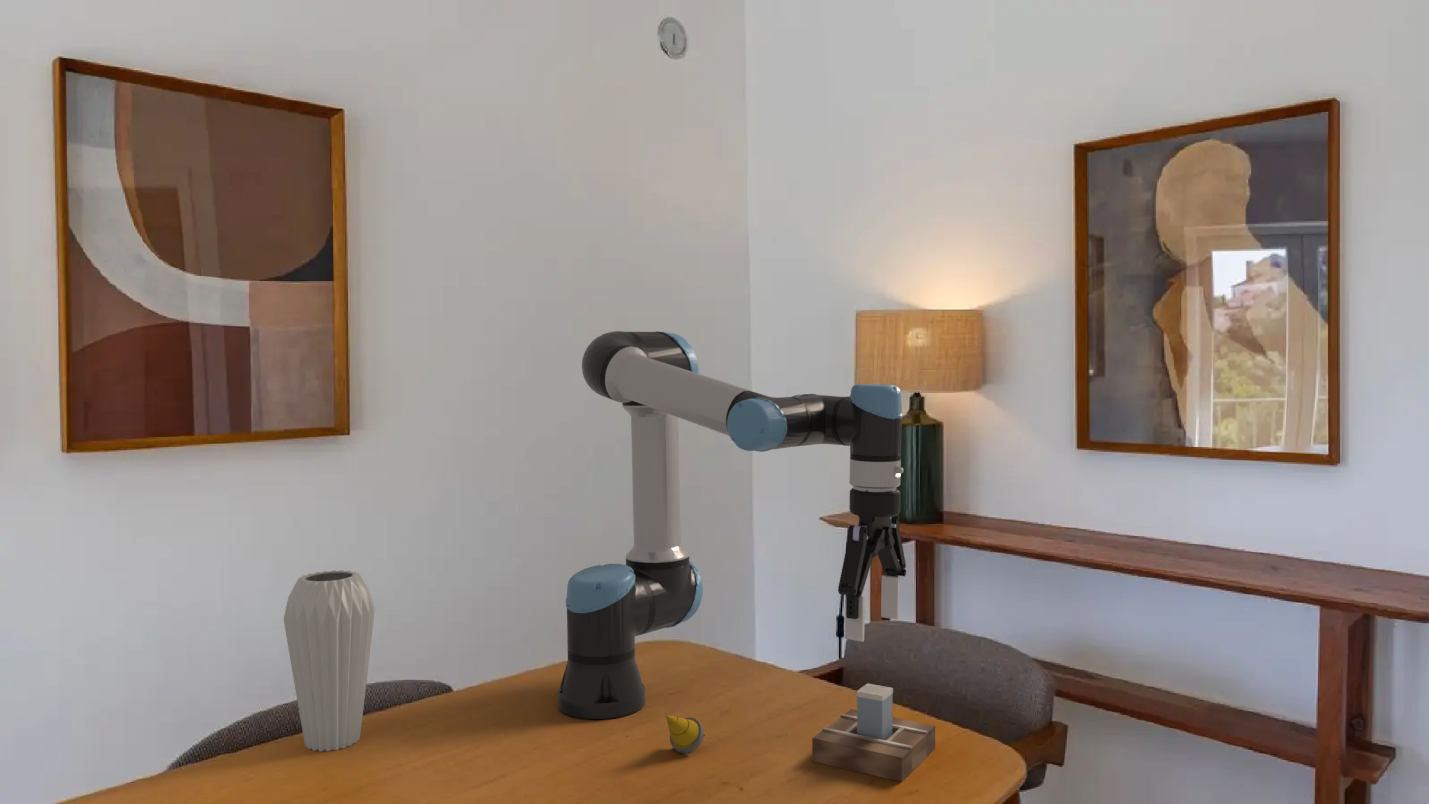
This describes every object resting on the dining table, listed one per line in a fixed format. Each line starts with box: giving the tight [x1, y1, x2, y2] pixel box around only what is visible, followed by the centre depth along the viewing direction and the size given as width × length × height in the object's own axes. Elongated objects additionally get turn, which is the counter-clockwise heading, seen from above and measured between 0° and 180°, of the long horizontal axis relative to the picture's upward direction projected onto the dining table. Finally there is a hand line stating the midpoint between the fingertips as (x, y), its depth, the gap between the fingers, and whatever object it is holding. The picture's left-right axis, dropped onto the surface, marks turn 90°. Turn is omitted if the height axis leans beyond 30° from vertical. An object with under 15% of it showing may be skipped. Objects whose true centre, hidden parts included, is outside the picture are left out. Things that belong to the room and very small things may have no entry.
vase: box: [283, 569, 375, 752], centre depth 154 cm, size 13×13×26 cm
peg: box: [856, 683, 894, 740], centre depth 148 cm, size 4×4×10 cm
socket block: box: [811, 708, 936, 783], centre depth 148 cm, size 14×14×4 cm
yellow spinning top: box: [665, 715, 706, 755], centre depth 149 cm, size 5×5×10 cm
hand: (873, 628), depth 148 cm, fingers open, 13 cm apart
